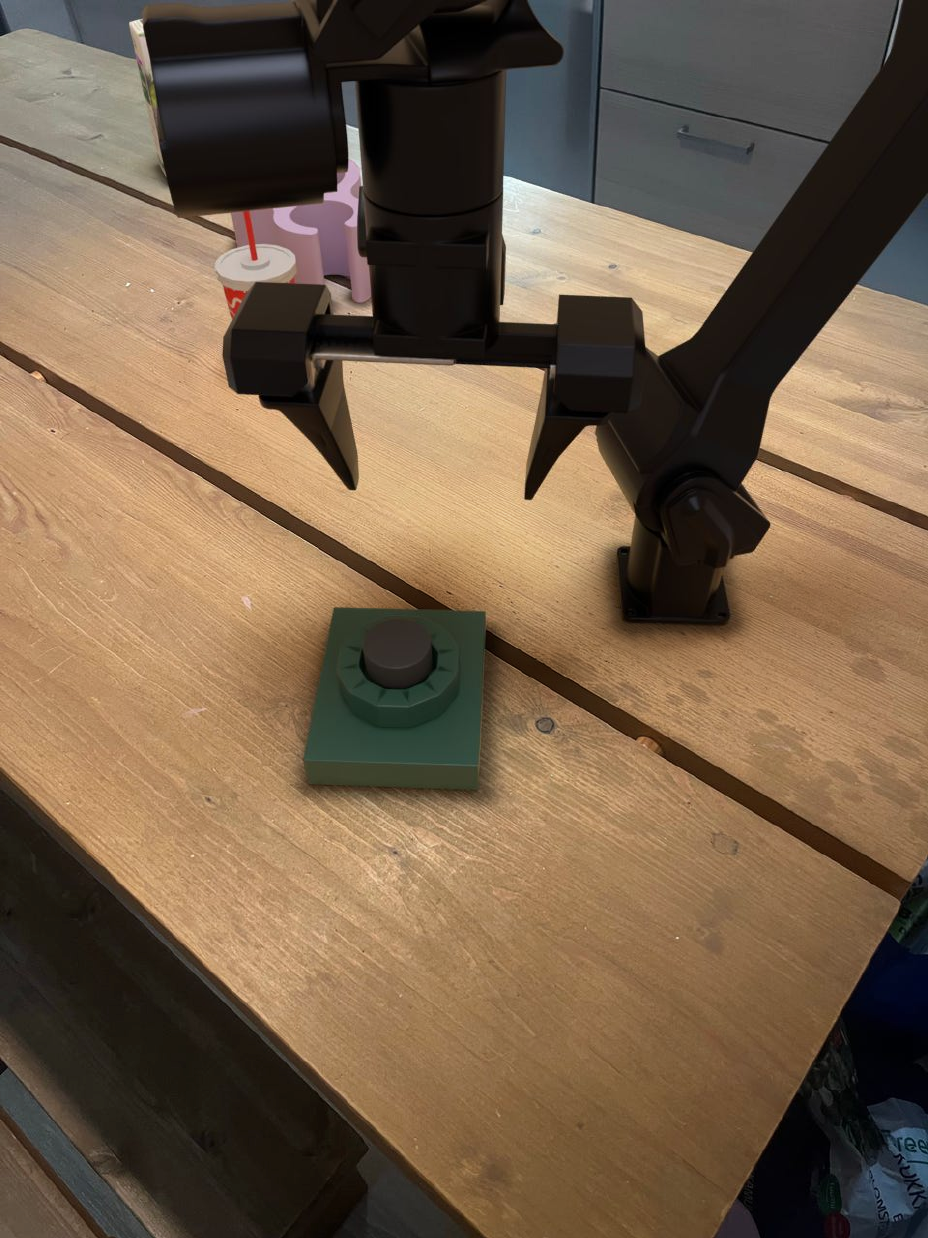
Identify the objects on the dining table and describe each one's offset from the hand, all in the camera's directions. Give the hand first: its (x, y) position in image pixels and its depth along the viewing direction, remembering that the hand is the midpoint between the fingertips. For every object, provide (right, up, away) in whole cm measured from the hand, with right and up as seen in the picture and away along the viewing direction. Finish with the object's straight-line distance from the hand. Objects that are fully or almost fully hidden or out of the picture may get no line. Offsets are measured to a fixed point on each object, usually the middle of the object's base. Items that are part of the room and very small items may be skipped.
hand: (440, 490), depth 50 cm
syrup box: (-30, +43, +57) cm, 77 cm away
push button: (-2, -9, +1) cm, 10 cm away
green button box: (-2, -12, +4) cm, 13 cm away
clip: (-14, +28, +42) cm, 52 cm away
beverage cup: (-15, +14, +29) cm, 35 cm away
